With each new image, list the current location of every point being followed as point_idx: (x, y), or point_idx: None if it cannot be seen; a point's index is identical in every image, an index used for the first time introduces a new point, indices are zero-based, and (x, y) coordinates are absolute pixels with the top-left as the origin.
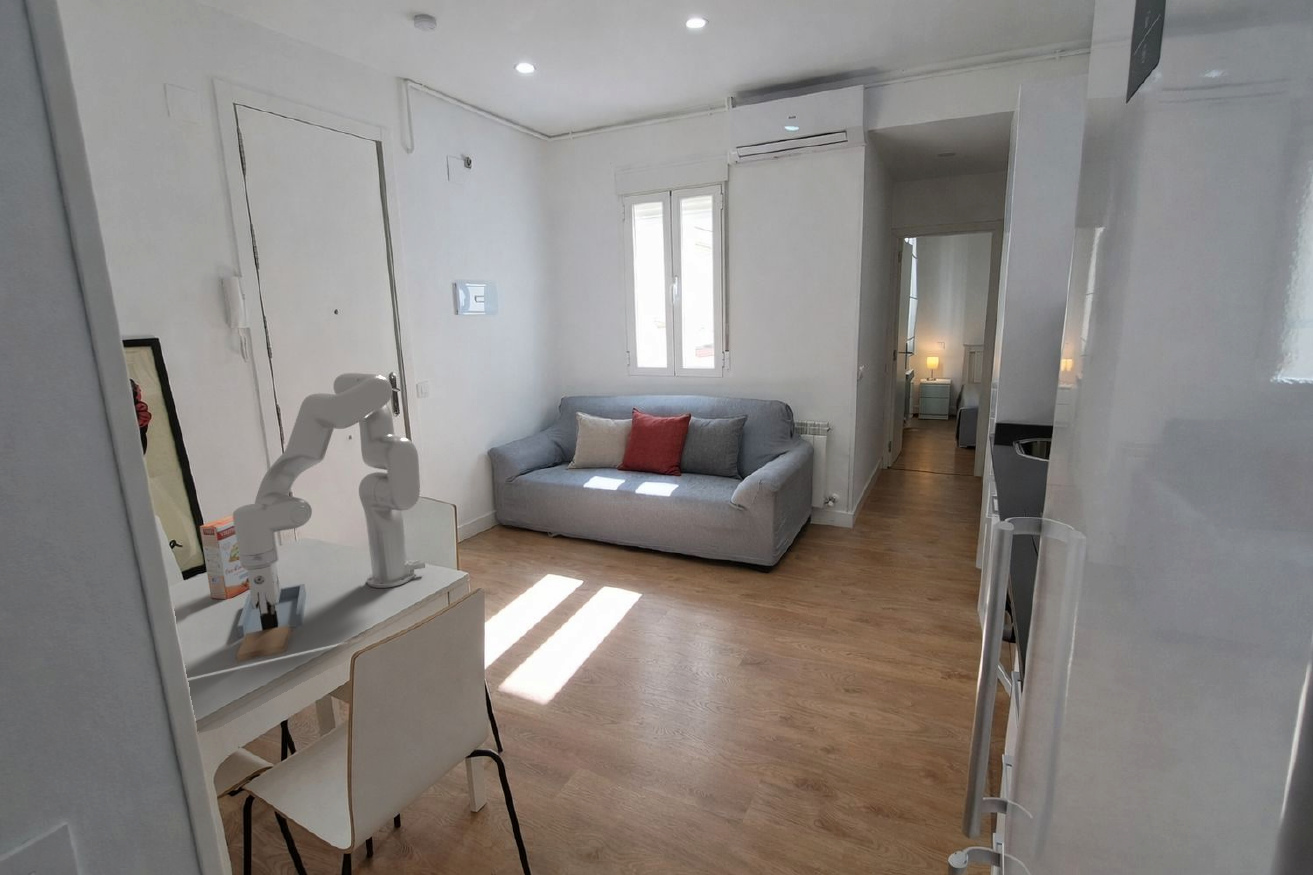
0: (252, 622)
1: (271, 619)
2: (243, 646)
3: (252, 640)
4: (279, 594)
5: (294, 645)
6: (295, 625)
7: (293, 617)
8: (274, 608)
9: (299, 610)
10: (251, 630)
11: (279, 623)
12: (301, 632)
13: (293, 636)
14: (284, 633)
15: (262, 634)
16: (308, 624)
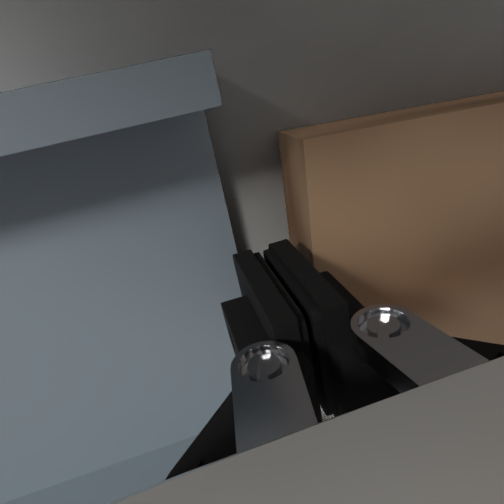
0: (66, 460)
1: (357, 303)
2: (493, 342)
3: (442, 326)
4: (452, 434)
5: (489, 42)
6: (196, 122)
7: (15, 194)
8: (292, 353)
9: (114, 91)
10: (195, 409)
11: (124, 272)
12: (303, 41)
13: (349, 92)
14: (443, 137)
15: (388, 299)
16: (160, 10)
